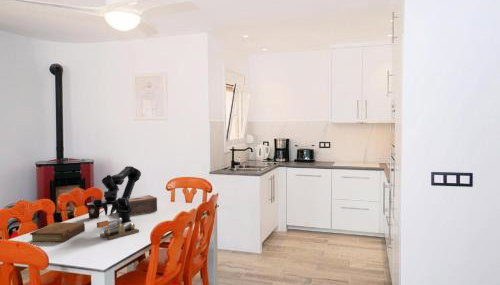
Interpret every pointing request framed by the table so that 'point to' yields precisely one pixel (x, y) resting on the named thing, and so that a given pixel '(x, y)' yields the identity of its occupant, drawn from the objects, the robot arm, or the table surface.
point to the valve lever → (108, 222)
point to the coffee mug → (93, 211)
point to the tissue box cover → (142, 204)
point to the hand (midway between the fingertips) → (108, 215)
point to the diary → (57, 232)
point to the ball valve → (119, 231)
